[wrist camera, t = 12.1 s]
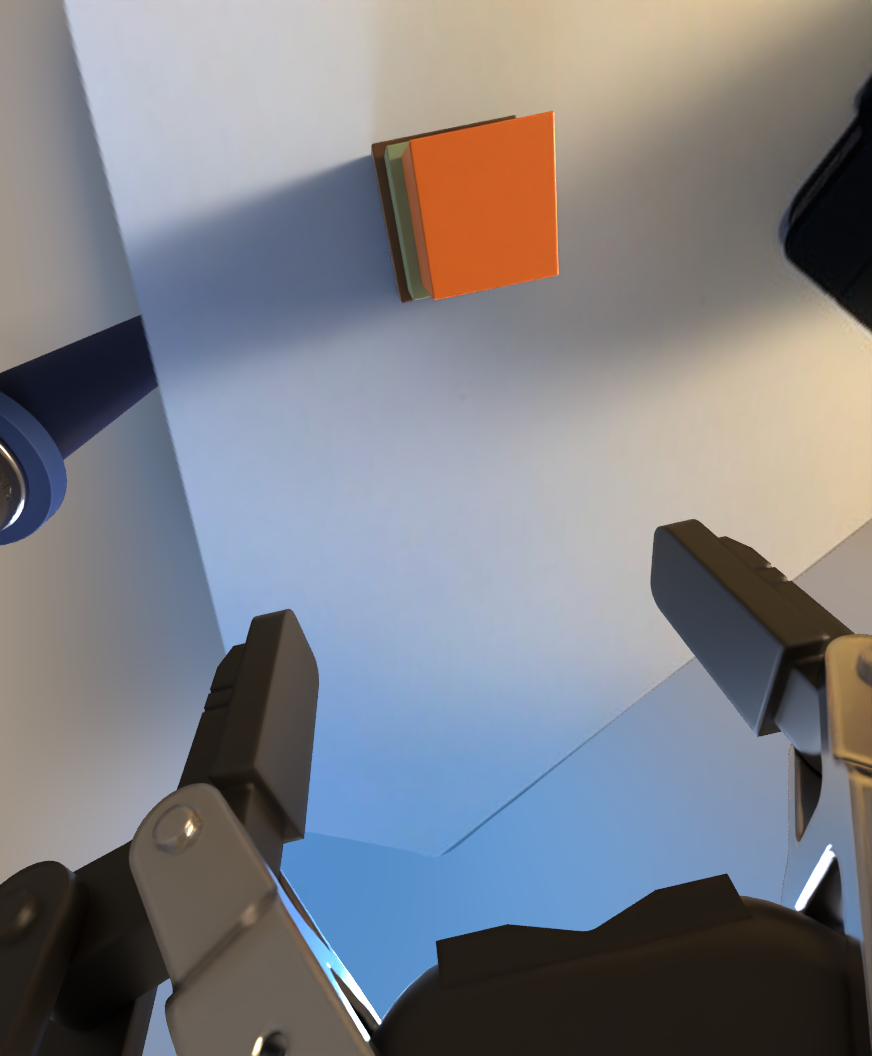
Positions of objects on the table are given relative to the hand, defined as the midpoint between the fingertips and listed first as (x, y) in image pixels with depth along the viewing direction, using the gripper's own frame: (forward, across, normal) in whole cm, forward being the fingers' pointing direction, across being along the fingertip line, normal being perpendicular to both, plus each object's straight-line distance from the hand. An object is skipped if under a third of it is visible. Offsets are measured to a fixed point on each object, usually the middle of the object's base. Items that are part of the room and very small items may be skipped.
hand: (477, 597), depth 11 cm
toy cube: (+18, -4, -7) cm, 19 cm away
